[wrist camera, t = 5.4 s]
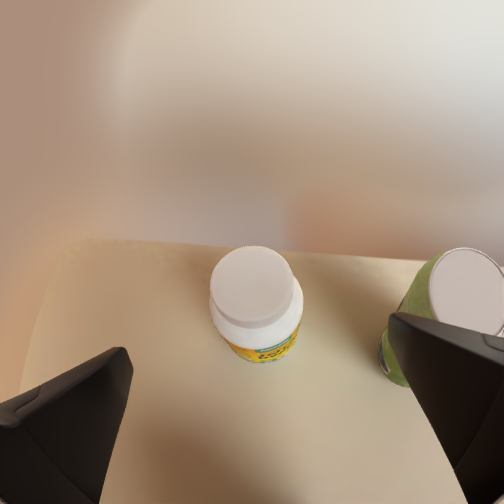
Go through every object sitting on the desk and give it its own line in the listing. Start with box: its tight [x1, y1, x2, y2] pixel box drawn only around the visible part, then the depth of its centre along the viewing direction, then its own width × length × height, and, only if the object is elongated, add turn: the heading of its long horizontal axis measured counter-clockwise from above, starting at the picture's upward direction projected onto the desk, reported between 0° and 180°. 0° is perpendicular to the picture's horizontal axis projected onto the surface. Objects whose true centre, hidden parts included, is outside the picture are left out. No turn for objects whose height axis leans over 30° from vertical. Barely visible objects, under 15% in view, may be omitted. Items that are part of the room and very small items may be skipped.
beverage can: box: [378, 247, 504, 388], centre depth 14 cm, size 6×7×12 cm
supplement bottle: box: [209, 246, 303, 364], centre depth 18 cm, size 5×5×10 cm
